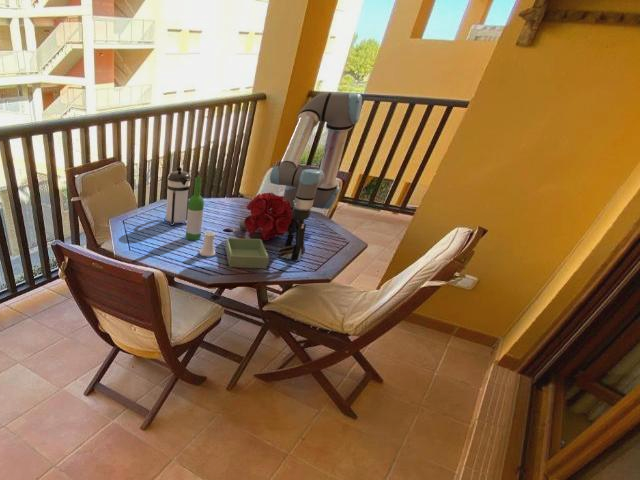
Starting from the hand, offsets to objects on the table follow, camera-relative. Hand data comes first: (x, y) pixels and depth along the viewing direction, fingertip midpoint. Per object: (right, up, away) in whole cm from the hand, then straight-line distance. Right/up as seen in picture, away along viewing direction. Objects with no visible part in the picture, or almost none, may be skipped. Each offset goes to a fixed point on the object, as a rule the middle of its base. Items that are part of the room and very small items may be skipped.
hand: (290, 253), depth 182 cm
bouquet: (-6, +14, +23) cm, 28 cm away
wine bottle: (-42, +13, +23) cm, 50 cm away
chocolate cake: (0, -2, +1) cm, 2 cm away
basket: (-21, -2, +2) cm, 21 cm away
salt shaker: (+1, +32, +47) cm, 56 cm away
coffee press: (-49, +28, +43) cm, 71 cm away
